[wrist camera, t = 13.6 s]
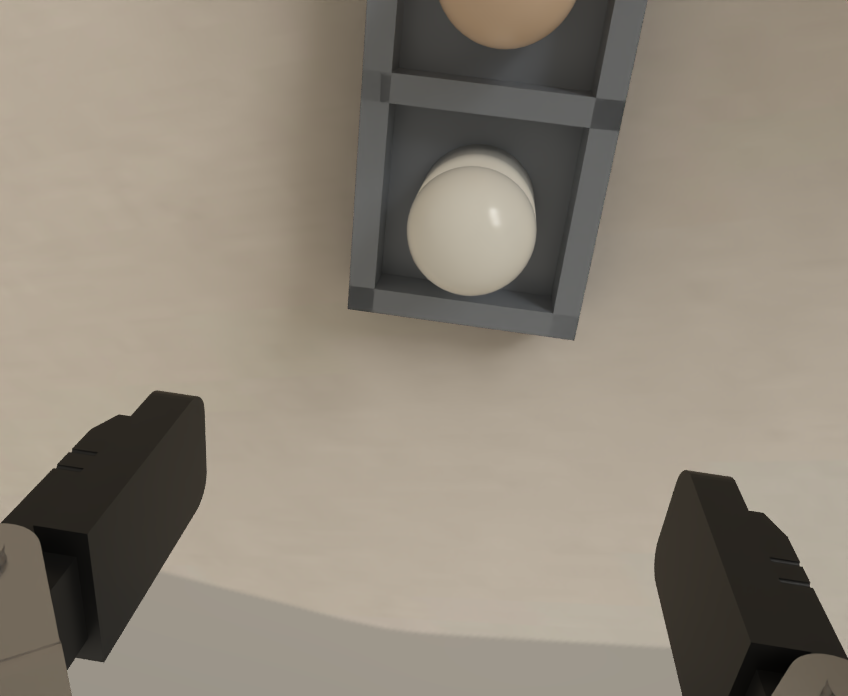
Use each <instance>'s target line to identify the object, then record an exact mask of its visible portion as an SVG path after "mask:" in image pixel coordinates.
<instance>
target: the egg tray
mask: <svg viewBox="0 0 848 696" xmlns="http://www.w3.org/2000/svg"><path fill="white" fill-rule="evenodd" d="M646 5H647V0H576V2H575V4H574V6H573V8H572V9H571V11H570V12H569V14H568V15H567V17H566V18H565V19H564V20H563V22H562V23H561V24H560V25H559V26H558V27H557V28H556V29H555V30H554V31H553V32H551V33H550V34H549V35H547V36H546V37H544V38H543V39H541V40H539V41H537V42H535V43H533V44H530V45H528V46H525V47H520V48H516V49H496V48H490V47H486V46H484V45H481V44H478V43H476V42H474V41H472V40H470V39H469V38H468V37H466V36H465V35H463V34H462V33H461V32H460V31H459V30H458V29H457V28H456V27H455V26H454V25H453V24H452V23H451V21H450V20H449V19H448V17H447V15H446V14H445V12H444V11H443V8H442V6H441V4H440V2H439V0H367V9H366V25H365V41H364V57H363V73H362V89H361V105H360V121H359V137H358V153H357V169H356V185H355V201H354V217H353V233H352V249H351V265H350V281H349V297H348V309H352V310H359V311H366V312H373V313H381V314H388V315H395V316H402V317H409V318H416V319H424V320H431V321H438V322H445V323H452V324H460V325H467V326H474V327H481V328H488V329H496V330H503V331H510V332H517V333H524V334H532V335H539V336H546V337H553V338H560V339H568V340H574V339H575V334H576V330H577V325H578V320H579V316H580V311H581V306H582V302H583V297H584V292H585V288H586V283H587V278H588V274H589V269H590V265H591V260H592V255H593V251H594V246H595V241H596V237H597V232H598V227H599V223H600V218H601V213H602V209H603V204H604V200H605V195H606V190H607V186H608V181H609V176H610V172H611V167H612V162H613V158H614V153H615V149H616V144H617V139H618V135H619V130H620V125H621V121H622V116H623V111H624V107H625V102H626V97H627V93H628V88H629V84H630V79H631V74H632V70H633V65H634V60H635V56H636V51H637V46H638V42H639V37H640V33H641V28H642V23H643V19H644V14H645V9H646ZM472 144H485V145H490V146H494V147H497V148H500V149H502V150H504V151H506V152H507V153H509V154H510V155H512V156H513V157H514V158H516V159H517V160H518V161H519V162H520V164H521V165H522V166H523V167H524V169H525V170H526V172H527V173H528V176H529V178H530V180H531V183H532V186H533V191H534V200H535V213H536V227H537V233H536V242H535V246H534V250H533V253H532V255H531V258H530V259H529V261H528V263H527V265H526V266H525V268H524V269H523V270H522V272H521V273H520V274H519V275H518V276H517V277H516V278H515V279H514V280H513V281H512V282H510V283H509V284H508V285H506V286H504V287H503V288H501V289H499V290H496V291H494V292H491V293H488V294H484V295H478V296H464V295H458V294H454V293H451V292H448V291H445V290H443V289H441V288H439V287H438V286H436V285H435V284H433V283H432V282H431V281H430V280H428V279H427V278H426V277H425V276H424V275H423V274H422V272H421V271H420V270H419V268H418V267H417V265H416V264H415V262H414V260H413V258H412V255H411V253H410V249H409V245H408V240H407V222H408V216H409V212H410V209H411V206H412V204H413V202H414V200H415V198H416V196H417V194H418V192H419V190H420V188H421V186H422V184H423V182H424V180H425V178H426V176H427V174H428V172H429V171H430V169H431V168H432V166H433V165H434V164H435V163H436V162H437V161H438V160H439V159H440V158H441V157H442V156H444V155H445V154H446V153H448V152H450V151H452V150H454V149H456V148H459V147H461V146H466V145H472Z"/></svg>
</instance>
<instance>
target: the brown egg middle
mask: <svg viewBox="0 0 848 696" xmlns="http://www.w3.org/2000/svg"><path fill="white" fill-rule="evenodd" d="M439 2H440V4H441V6H442V8H443V11H444V12H445V14H446V15H447V17H448V19H449V20H450V21H451V23H452V24H453V25H454V26H455V27H456V28H457V29H458V30H459V31H460V32H461V33H462V34H463V35H465V36H466V37H468V38H469V39H470V40H472V41H474V42H476V43H478V44H481V45H484V46H486V47H490V48H496V49H516V48H520V47H525V46H528V45H530V44H533V43H535V42H537V41H539V40H541V39H543V38H544V37H546V36H547V35H549V34H550V33H551V32H553V31H554V30H555V29H556V28H557V27H558V26H559V25H560V24H561V23H562V22H563V20H564V19H565V18H566V17H567V15H568V14H569V12H570V11H571V9H572V8H573V6H574V4H575V2H576V0H439Z"/></svg>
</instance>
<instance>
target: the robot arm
mask: <svg viewBox="0 0 848 696" xmlns="http://www.w3.org/2000/svg"><path fill="white" fill-rule="evenodd" d="M206 474H207V468H206V440H205V411H204V403H203V401H202V399H201V398H200V397H198V396H191V395H184V394H177V393H171V392H164V391H154V392H152V393H151V394H150V395H149V396H148V398H147V399H146V400H145V401H144V402H143V403H142V404H141V405H140V406H139V408H138V409H137V410H136V411H135V412H134V413H133V414H132V415H131V416H125V415H117V416H115V417H113V418H111V419H109V420H108V421H106V422H104V423H102V424H100V425H98V426H96V427H94V428H92V429H91V430H90V431H89V432H88V433H87V434H86V435H85V436H84V437H83V438H82V439H81V440H80V441H79V442H78V443H77V444H76V445H75V446H74V447H73V448H72V453H70V452H69V453H68V454H67V455H66V456H65V457H64V458H63V459H62V460H61V461H60V462H59V463H58V464H57V468H56V469H55V468H53V469H52V470H51V471H50V472H49V473H48V474H47V475H46V477H45V478H44V479H43V480H42V481H41V482H40V483H39V484H38V485H37V486H36V487H35V488H34V489H33V490H32V491H31V492H30V493H29V494H28V495H27V496H26V497H25V498H24V499H23V500H22V501H21V503H20V504H19V505H18V506H17V507H16V508H15V509H14V510H13V511H12V512H11V513H10V514H9V515H8V516H7V517H6V518H5V519H4V520H3V521H2V522H1V523H0V696H72V693H71V689H70V683H69V678H68V673H67V670H68V668H69V667H70V665H71V664H72V662H73V661H74V659H75V658H82V659H88V660H93V661H99V662H104V661H105V660H106V658H107V656H108V655H109V653H110V652H111V650H112V648H113V647H114V645H115V643H116V642H117V640H118V639H119V637H120V635H121V634H122V632H123V630H124V629H125V627H126V625H127V624H128V622H129V620H130V619H131V617H132V616H133V614H134V612H135V611H136V609H137V607H138V606H139V604H140V602H141V601H142V599H143V597H144V596H145V594H146V593H147V591H148V589H149V588H150V586H151V584H152V583H153V581H154V579H155V578H156V576H157V575H158V573H159V571H160V570H161V568H162V566H163V565H164V563H165V561H166V560H167V558H168V556H169V555H170V553H171V552H172V550H173V548H174V547H175V545H176V543H177V542H178V540H179V538H180V537H181V535H182V533H183V532H184V530H185V529H186V527H187V525H188V524H189V522H190V520H191V519H192V517H193V515H194V514H195V512H196V511H197V509H198V507H199V505H200V502H201V499H202V496H203V493H204V489H205V484H206ZM799 563H800V561H799V559H798V557H797V555H796V553H795V551H794V549H793V547H792V545H791V543H790V541H789V539H788V537H787V536H786V535H785V534H784V533H783V532H782V531H781V530H780V529H779V528H778V527H777V526H776V525H775V524H774V523H773V522H772V521H771V520H770V519H769V518H768V517H767V516H766V515H765V514H764V513H760V512H754V511H748V508H747V506H746V504H745V502H744V500H743V497H742V495H741V493H740V491H739V488H738V486H737V484H736V482H735V480H734V479H733V478H732V477H728V476H722V475H715V474H708V473H701V472H695V471H688V470H684V471H683V472H682V473H681V474H680V475H679V477H678V480H677V482H676V485H675V489H674V492H673V495H672V498H671V501H670V504H669V508H668V511H667V514H666V517H665V520H664V523H663V527H662V530H661V533H660V536H659V539H658V543H657V547H656V553H655V563H654V572H655V581H656V586H657V590H658V595H659V599H660V603H661V607H662V611H663V616H664V620H665V624H666V628H667V632H668V637H669V641H670V645H671V649H672V653H673V658H674V662H675V666H676V670H677V675H678V679H679V683H680V687H681V691H682V696H848V658H847V656H846V654H845V652H844V650H843V647H842V645H841V643H840V641H839V639H838V637H837V635H836V633H835V631H834V629H833V627H832V625H831V623H830V621H829V619H828V617H827V615H826V613H825V611H824V609H823V607H822V605H821V603H820V601H819V599H818V597H817V595H816V593H815V591H814V589H813V588H810V581H809V579H808V577H807V575H806V573H805V571H804V569H803V567H800V566H799Z"/></svg>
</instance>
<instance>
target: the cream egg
mask: <svg viewBox="0 0 848 696" xmlns="http://www.w3.org/2000/svg"><path fill="white" fill-rule="evenodd" d="M536 233H537V227H536V213H535V200H534V191H533V186H532V183H531V180H530V178H529V176H528V173H527V172H526V170H525V169H524V167H523V166H522V165H521V164H520V162H519V161H518V160H517V159H516V158H514V157H513V156H512V155H510V154H509V153H507V152H506V151H504V150H502V149H500V148H497V147H494V146H490V145H485V144H472V145H466V146H461V147H459V148H456V149H454V150H452V151H450V152H448V153H446V154H445V155H444V156H442V157H441V158H440V159H439V160H438V161H437V162H436V163H435V164H434V165H433V166H432V168H431V169H430V171H429V172H428V174H427V176H426V178H425V180H424V182H423V184H422V186H421V188H420V190H419V192H418V194H417V196H416V198H415V200H414V202H413V204H412V206H411V209H410V212H409V216H408V222H407V240H408V245H409V249H410V253H411V255H412V258H413V260H414V262H415V264H416V265H417V267H418V268H419V270H420V271H421V272H422V274H423V275H424V276H425V277H426V278H427V279H428V280H430V281H431V282H432V283H433V284H435V285H436V286H438V287H439V288H441V289H443V290H445V291H448V292H451V293H454V294H458V295H464V296H478V295H484V294H488V293H491V292H494V291H496V290H499V289H501V288H503V287H504V286H506V285H508V284H509V283H510V282H512V281H513V280H514V279H515V278H516V277H517V276H518V275H519V274H520V273H521V272H522V270H523V269H524V268H525V266H526V265H527V263H528V261H529V259H530V258H531V255H532V253H533V250H534V246H535V242H536Z"/></svg>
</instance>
